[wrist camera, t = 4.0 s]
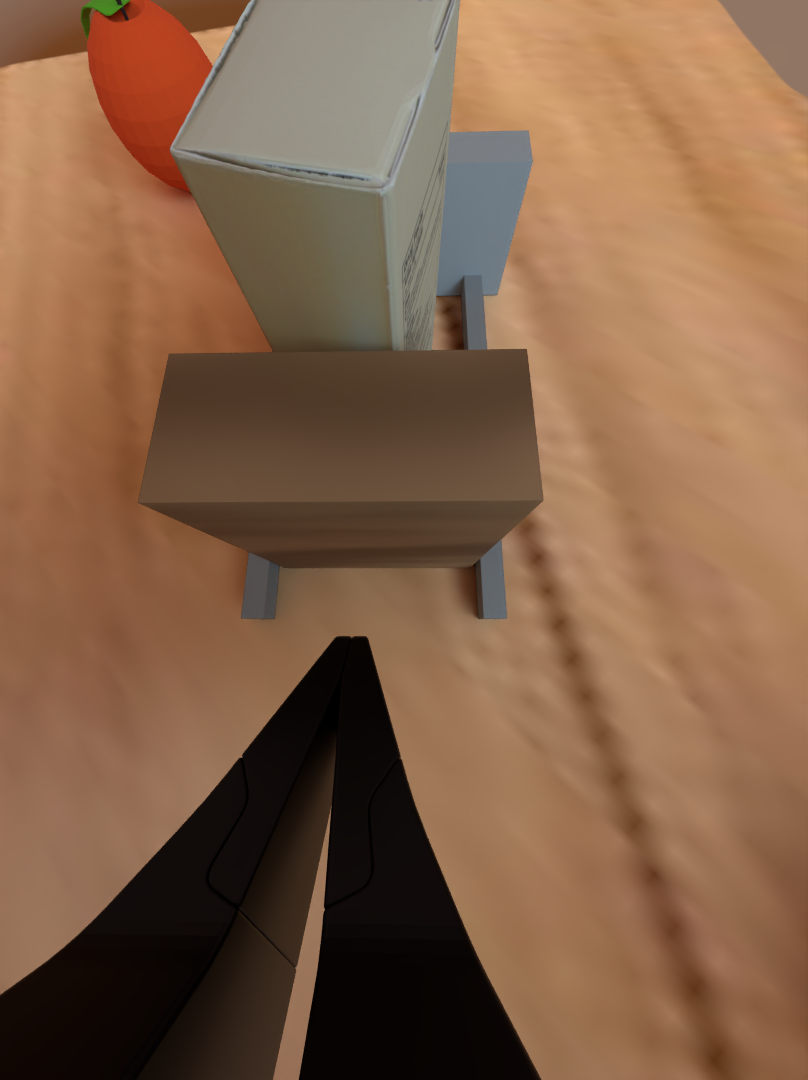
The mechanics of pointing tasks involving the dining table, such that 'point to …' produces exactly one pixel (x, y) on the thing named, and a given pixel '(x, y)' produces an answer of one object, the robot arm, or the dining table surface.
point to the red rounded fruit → (144, 77)
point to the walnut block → (348, 454)
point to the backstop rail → (470, 271)
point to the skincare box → (329, 167)
